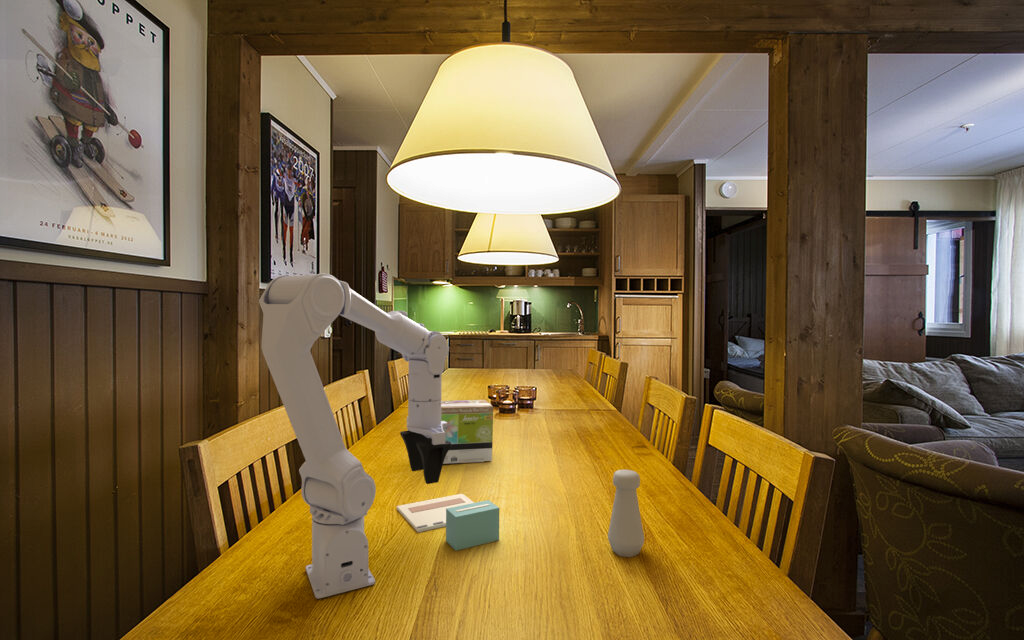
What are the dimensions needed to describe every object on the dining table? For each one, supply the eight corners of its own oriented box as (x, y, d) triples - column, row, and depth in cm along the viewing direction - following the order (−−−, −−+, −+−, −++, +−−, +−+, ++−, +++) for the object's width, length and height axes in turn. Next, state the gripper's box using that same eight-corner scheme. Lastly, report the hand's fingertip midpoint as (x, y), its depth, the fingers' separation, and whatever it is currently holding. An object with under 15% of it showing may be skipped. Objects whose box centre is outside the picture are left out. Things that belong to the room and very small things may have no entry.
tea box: (434, 466, 127) (434, 407, 127) (429, 455, 137) (429, 400, 137) (493, 462, 131) (493, 404, 131) (484, 451, 141) (485, 398, 141)
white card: (489, 516, 97) (489, 512, 97) (417, 532, 90) (417, 528, 90) (462, 496, 107) (462, 492, 107) (396, 509, 100) (396, 505, 100)
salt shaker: (618, 539, 87) (619, 463, 87) (650, 550, 84) (651, 470, 83) (601, 552, 83) (601, 472, 82) (633, 563, 79) (634, 479, 79)
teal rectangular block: (499, 539, 87) (499, 507, 87) (455, 550, 83) (455, 516, 83) (488, 531, 90) (488, 499, 90) (446, 541, 86) (446, 508, 86)
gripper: (462, 403, 85) (461, 484, 86) (432, 391, 98) (431, 462, 98) (421, 407, 82) (421, 491, 82) (395, 394, 95) (395, 467, 95)
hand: (424, 476), depth 90 cm, fingers open, 7 cm apart
